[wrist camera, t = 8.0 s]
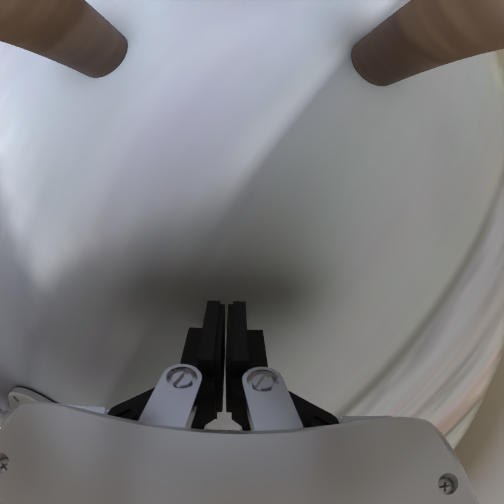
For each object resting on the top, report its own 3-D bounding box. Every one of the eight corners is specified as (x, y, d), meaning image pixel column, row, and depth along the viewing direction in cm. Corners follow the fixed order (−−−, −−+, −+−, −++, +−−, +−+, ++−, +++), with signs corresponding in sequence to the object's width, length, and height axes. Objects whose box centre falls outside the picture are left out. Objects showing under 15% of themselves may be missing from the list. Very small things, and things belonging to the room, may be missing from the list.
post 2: (352, 78, 10) (498, 6, 1) (350, 34, 9) (465, -58, 1) (398, 91, 10) (549, 60, 2) (395, 49, 9) (522, -7, 1)
